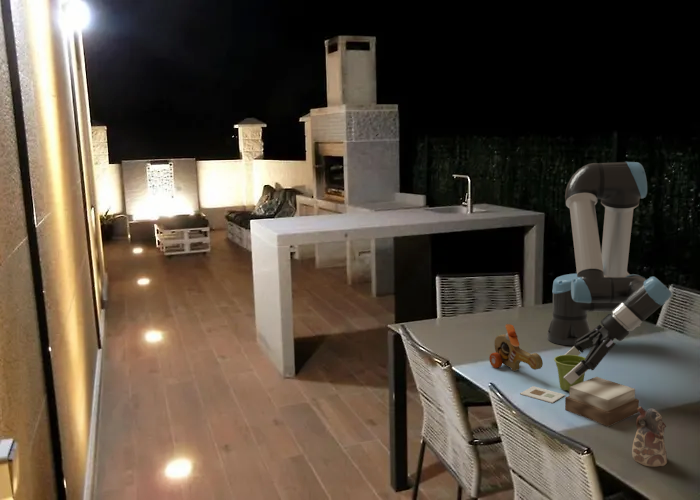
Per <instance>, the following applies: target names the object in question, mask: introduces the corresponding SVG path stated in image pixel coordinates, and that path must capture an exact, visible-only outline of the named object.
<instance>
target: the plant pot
mask: <svg viewBox="0 0 700 500" xmlns="http://www.w3.org/2000/svg"><path fill="white" fill-rule="evenodd" d="M585 358H586V357H584V356H581V355H578V356H577V355H565V354H561V355H557V356H555V357H554V358H553V360H554V362H555V366H556V367H557V368H556V369H557V373H558V380H559V387H560V389H561V390H563V391H568V392H569V393H570V387H571V386H573V385H576V384H579V383H581V382H584V381H585V373H586V372H585V373H584V374H583V375H582V376H580V377H579V378H578V379H577V380H576V381H575V382H574V383H572V384H570V383H569V382H568V381H567V380H566V379H565V378H564V376H565V375H566V374H568V373H569V372H570V371H571V370H572V369H573V368H574V367H575V366H577V365H578V364H579V363H580V362H581V360H585Z"/></svg>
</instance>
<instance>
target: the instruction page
mask: <svg viewBox="0 0 700 500" xmlns="http://www.w3.org/2000/svg"><path fill="white" fill-rule="evenodd" d="M520 395H522V396H525V397H529V398H533V399H536V400H539V401H543V402H546V403H549V404H550V403H551V404H554V403H555V402H557V401H559V399H561V398H563V397H566V394H564V393H560V392H556V391H553V390H549V389H545V388H542V387H537V386H535V385H533V386H531V387H528V388H527V389H525V390H523V391H522V392H520Z"/></svg>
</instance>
